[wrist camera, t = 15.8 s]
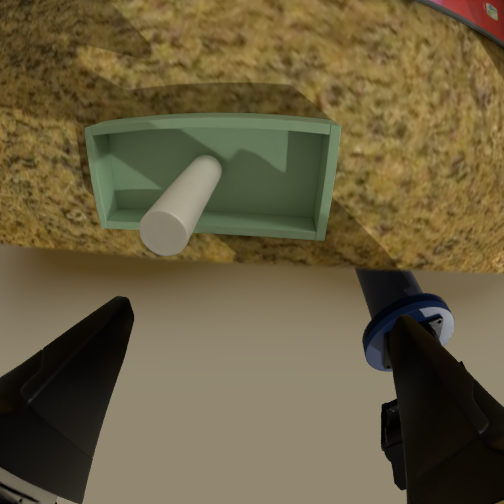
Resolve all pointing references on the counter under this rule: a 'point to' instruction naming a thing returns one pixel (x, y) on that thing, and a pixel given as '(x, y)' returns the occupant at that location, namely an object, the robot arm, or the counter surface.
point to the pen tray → (233, 170)
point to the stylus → (180, 207)
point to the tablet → (475, 15)
